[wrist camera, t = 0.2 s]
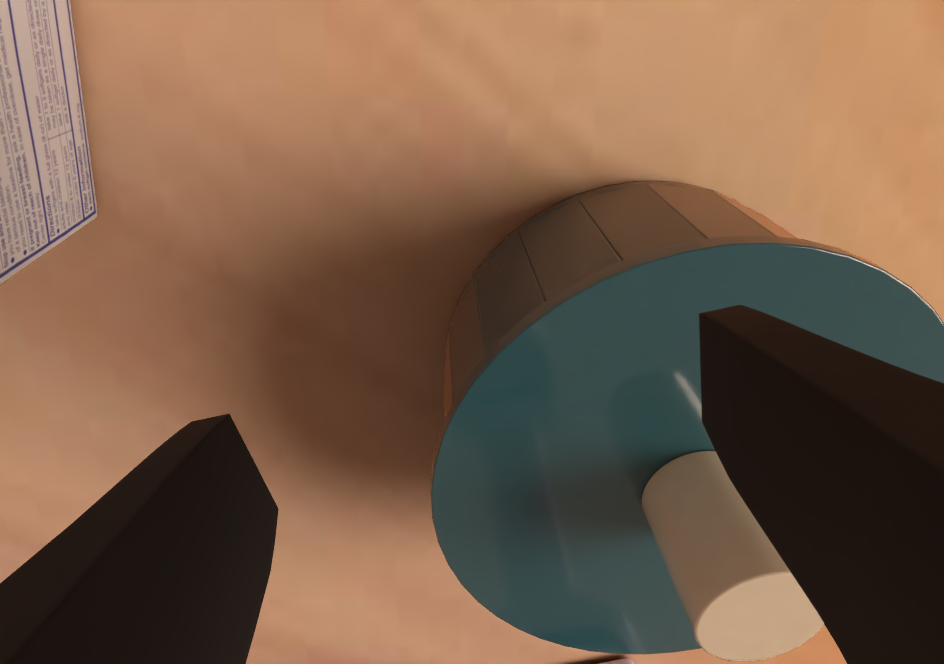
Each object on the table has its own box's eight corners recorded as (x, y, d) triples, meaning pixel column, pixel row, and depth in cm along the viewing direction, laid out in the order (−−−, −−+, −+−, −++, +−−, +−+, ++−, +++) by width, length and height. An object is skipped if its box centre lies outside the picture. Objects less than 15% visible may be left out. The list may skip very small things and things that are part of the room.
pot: (793, 455, 24) (895, 586, 19) (483, 517, 24) (498, 660, 19) (816, 138, 18) (978, 199, 12) (403, 230, 18) (393, 325, 13)
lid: (896, 577, 19) (1023, 735, 15) (485, 655, 20) (499, 826, 16) (984, 162, 13) (1247, 244, 9) (366, 298, 13) (339, 433, 9)
